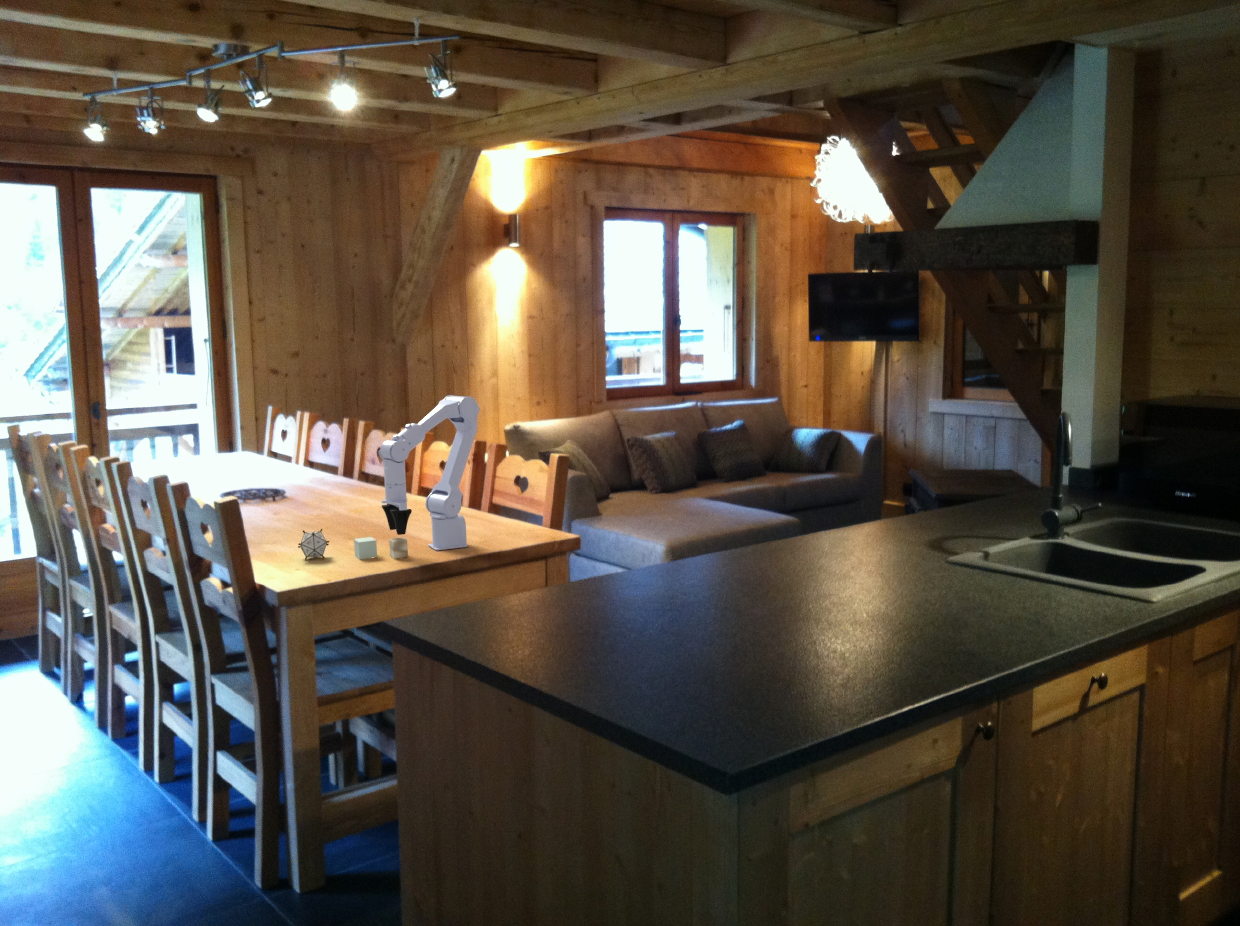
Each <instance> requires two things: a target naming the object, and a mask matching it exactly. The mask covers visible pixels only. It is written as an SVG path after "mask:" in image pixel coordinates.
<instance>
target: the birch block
mask: <svg viewBox="0 0 1240 926" xmlns="http://www.w3.org/2000/svg"><path fill="white" fill-rule="evenodd" d="M388 541H389V543H388V545H389V557H390V556H391V557H390V558H391V559H393V560H398V559H397V558H400V559H404V558H403V557H408V558H409V548H408V539H406V538H405V537H402V536H401V537H393V538H389V540H388Z"/></svg>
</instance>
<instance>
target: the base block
mask: <svg viewBox="0 0 1240 926" xmlns="http://www.w3.org/2000/svg"><path fill="white" fill-rule="evenodd" d="M353 544H354V545H353V546H354V557H355V556H356V557H355V558H357V559H358V560H359V559H361V560H367V559H366V558H370V559H373V558H372V557H377V558H378V550H377V549H378V547H377V539H375V538H374V537H372V536H371V537H361V538H353Z"/></svg>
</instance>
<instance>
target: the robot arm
mask: <svg viewBox="0 0 1240 926" xmlns="http://www.w3.org/2000/svg"><path fill="white" fill-rule="evenodd" d="M480 409H481V408H480V406H479V404H478V402H477V401H476V399H475V398H474V397H473V396H463V395H461V396H459V395H452V394H449V395H446V396H445V397H444V398H443V399H440V401H438V404H437V405H436V406H435V407H434V408H433V409H432V410H431V411H430V412H429V413H427V415H426V416H424V417H423V418H422V419H421V420H420V421H419V422H418V423H407V424H405V426H404V429H402V430H401V431H400V432H399V433H397V434H394V435H393V436H392V439H387V440H385V441H383V443H382V444H381V446H380V448H379V450H378V455H379V457H380V459H381V460H382V465H383V475H384V476H383V477H384V495H385V496H384V497H385V499H381V504H382V505H381V508H382V509H383V512H384V514H385V516H386V520H387V523H388V529H389V531H395V532H396V535H398V536H401V535H406V533H407V527H408V521H409V519H410V515H411V514H412V512H413V510H412V509H411V508H408V498H407V484H406V483H407V482H406V481H407V480H406V461H405V460H407V459H408V458H409V455H410V452H412V450H413V449H415V448H416V447H418V445H420V444H421V443H422V442H423V441H425V439H426V434H427V433H428V432H429V431H430V430H432V429H434V428H435V427H436V426H438V425H439V424H441V423H442V422H443V421H444V420H446V419H448V420H449V421H450V422H451V423H452V424H453V425H454V427H455V429H456V432H455V434H454V435H455V436H454V438H453V441H452V445H451V447H450V451H449V454H448V457H447V458H446V459H447V460H446V463H445V467H444V468H443V472H442V475H441V479H440V480H439V482H438V483H436V484H435V485H434V486H433V487H432V489H431V491H430V493H429V495H427V497H426V499H425V508H426V510H427V511H428V512H429V514H430V515H429V516H430V517H431V535H432V536H431V537H432V543H428V547H430V548H432V549H433V550H434V551H445V550H451V549H458V548H467V547H468V542H467V540H468V539H467V523H466V519H465V517H464V515H461V514H459V513H460V512H461V510H462V498H463V495H464V494H463V492H462V490H461V489H460V484H461V481H462V478H463V475H464V473H465V468H466V466H467V464H468V463H467V462H468V461H469V460H468V459H469V457H470V454H471V449H472V447H473V444H474V440H475V438H476V435H477V432H478V415H479V412H480Z"/></svg>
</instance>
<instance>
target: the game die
mask: <svg viewBox="0 0 1240 926" xmlns="http://www.w3.org/2000/svg"><path fill="white" fill-rule="evenodd" d="M322 532H323V528H321V529H320V531H319V530H317V531H316V530H315V531H305V530H304V529H303V530H302V533H303V536H302V539H301V542H299V543H298V544H297V545H298V546H297V548H298V549H301V551H302V552H303V554H304V556H305V558H304V561H306V560H307V559H308V558H309V559H310V558H318V557H319V558H320V557H322V559H324V558H325V556H324V554H325V551H326V548H327V546H329V543H330V540H327V539H326V538H325V536H324V534H323V533H322Z"/></svg>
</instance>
